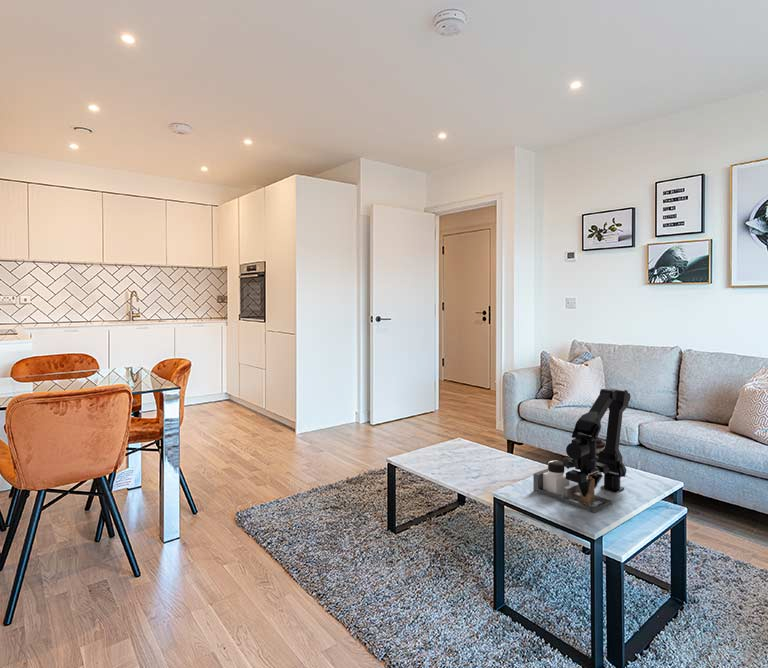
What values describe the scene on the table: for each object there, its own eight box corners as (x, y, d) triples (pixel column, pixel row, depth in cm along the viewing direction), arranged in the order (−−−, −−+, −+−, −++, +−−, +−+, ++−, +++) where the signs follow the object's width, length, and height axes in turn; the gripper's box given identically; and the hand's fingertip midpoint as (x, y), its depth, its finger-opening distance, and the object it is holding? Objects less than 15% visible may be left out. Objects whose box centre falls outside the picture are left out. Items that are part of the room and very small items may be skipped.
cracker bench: (551, 484, 199) (551, 467, 198) (612, 504, 178) (612, 485, 178) (533, 491, 192) (533, 473, 191) (594, 513, 171) (594, 493, 171)
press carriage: (576, 493, 188) (576, 469, 187) (598, 501, 181) (598, 475, 180) (563, 499, 183) (563, 473, 182) (585, 507, 176) (585, 480, 175)
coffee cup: (588, 467, 218) (588, 433, 217) (609, 473, 210) (610, 438, 209) (575, 472, 212) (575, 437, 211) (596, 478, 204) (597, 442, 203)
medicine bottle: (569, 493, 189) (570, 463, 188) (555, 497, 186) (556, 466, 185) (556, 487, 195) (556, 458, 194) (542, 490, 192) (542, 460, 191)
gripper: (582, 443, 190) (582, 482, 191) (552, 452, 180) (552, 494, 181) (609, 450, 181) (609, 491, 182) (580, 460, 171) (579, 504, 172)
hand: (587, 495), depth 180 cm, fingers closed on press carriage, 3 cm apart
